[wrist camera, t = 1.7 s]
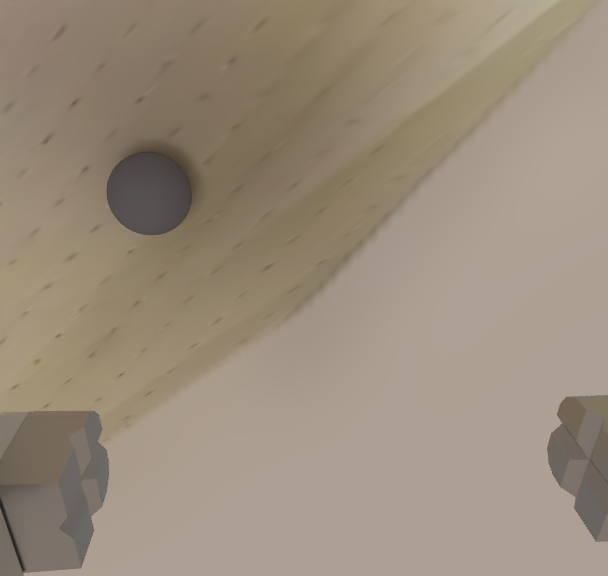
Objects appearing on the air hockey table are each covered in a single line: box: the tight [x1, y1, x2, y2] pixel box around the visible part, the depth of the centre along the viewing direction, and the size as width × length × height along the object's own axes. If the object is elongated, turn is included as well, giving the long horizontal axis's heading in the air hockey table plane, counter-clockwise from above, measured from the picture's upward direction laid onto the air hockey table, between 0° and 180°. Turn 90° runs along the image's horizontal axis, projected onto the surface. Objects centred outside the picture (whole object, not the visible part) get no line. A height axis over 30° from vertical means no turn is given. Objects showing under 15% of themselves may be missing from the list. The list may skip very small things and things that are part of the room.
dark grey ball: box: [107, 152, 192, 235], centre depth 32 cm, size 5×5×5 cm
